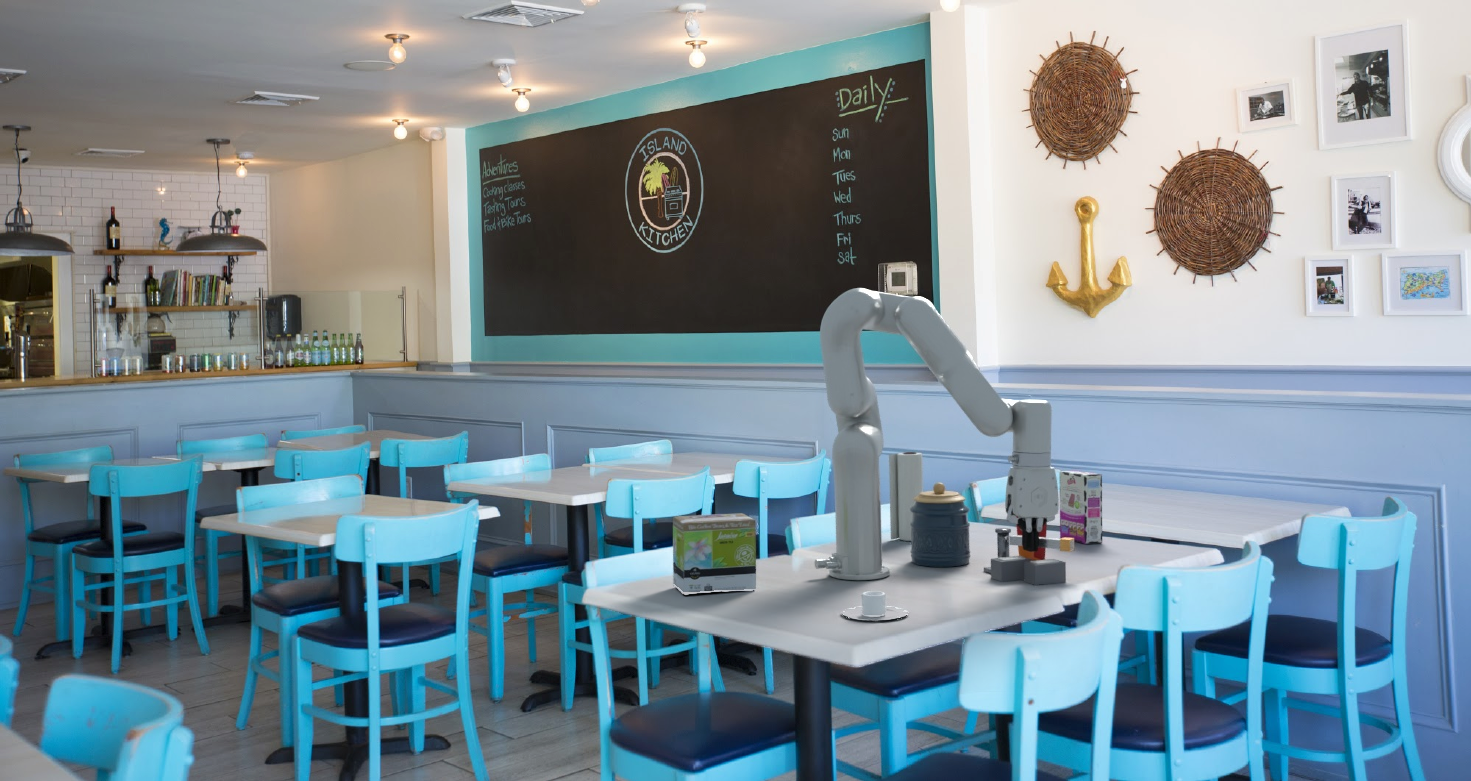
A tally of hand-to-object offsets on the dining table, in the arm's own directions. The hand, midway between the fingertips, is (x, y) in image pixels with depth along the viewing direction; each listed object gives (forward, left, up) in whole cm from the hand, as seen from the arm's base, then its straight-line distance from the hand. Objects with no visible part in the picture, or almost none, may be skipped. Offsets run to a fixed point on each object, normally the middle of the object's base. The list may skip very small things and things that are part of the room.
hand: (1030, 550), depth 243 cm
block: (-4, +2, -6) cm, 7 cm away
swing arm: (+3, +1, 0) cm, 3 cm away
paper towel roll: (0, +54, -6) cm, 54 cm away
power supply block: (0, -4, -6) cm, 7 cm away
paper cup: (+12, +19, -6) cm, 23 cm away
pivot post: (-2, +8, -6) cm, 10 cm away
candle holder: (-43, -15, -6) cm, 46 cm away
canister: (-8, +24, -6) cm, 25 cm away
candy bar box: (+36, +33, -6) cm, 49 cm away
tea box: (-62, +19, -6) cm, 65 cm away
